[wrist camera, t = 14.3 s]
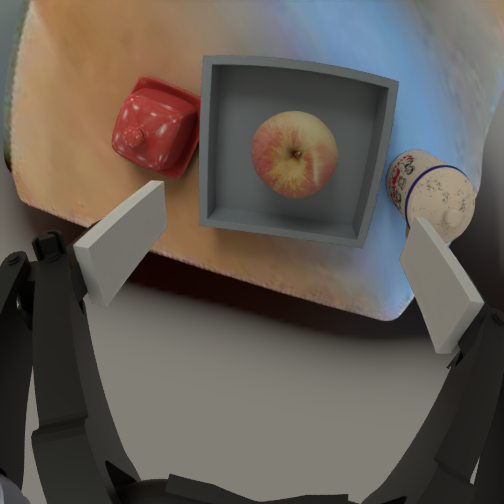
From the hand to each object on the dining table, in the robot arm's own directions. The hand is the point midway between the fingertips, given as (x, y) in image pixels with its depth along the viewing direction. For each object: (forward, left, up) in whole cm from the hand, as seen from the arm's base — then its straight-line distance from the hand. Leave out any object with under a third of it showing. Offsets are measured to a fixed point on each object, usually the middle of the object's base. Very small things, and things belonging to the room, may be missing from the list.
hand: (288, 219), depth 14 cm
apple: (0, 0, -21) cm, 21 cm away
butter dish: (-17, +1, -22) cm, 28 cm away
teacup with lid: (+17, -3, -22) cm, 28 cm away
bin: (0, 0, -22) cm, 22 cm away
